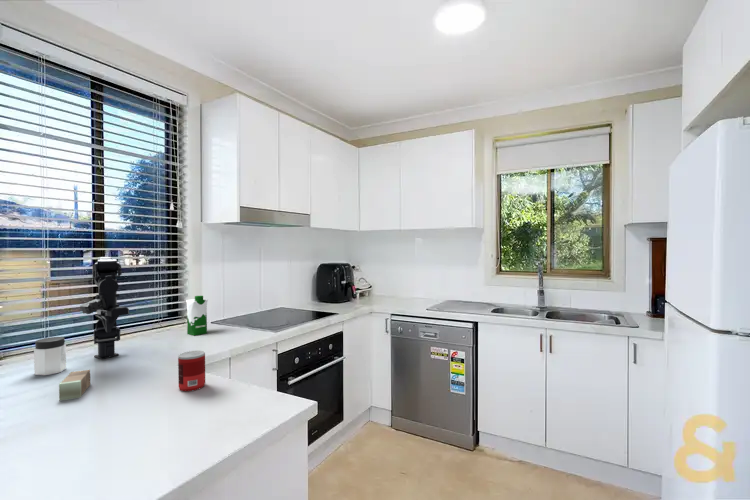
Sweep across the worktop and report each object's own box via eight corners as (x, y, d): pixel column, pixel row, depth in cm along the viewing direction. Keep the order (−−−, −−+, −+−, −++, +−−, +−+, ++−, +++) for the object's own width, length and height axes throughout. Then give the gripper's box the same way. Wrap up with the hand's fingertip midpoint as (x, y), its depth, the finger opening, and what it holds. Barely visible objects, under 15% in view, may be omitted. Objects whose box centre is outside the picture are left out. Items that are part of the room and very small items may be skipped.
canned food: (210, 384, 124) (210, 351, 124) (191, 393, 117) (191, 358, 117) (192, 381, 127) (192, 349, 127) (173, 390, 119) (172, 356, 119)
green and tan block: (71, 371, 122) (59, 384, 112) (90, 369, 125) (79, 381, 114) (71, 387, 123) (59, 400, 112) (90, 384, 125) (80, 397, 114)
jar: (58, 374, 135) (58, 341, 134) (30, 377, 132) (30, 343, 132) (69, 366, 143) (69, 335, 143) (43, 369, 140) (42, 337, 140)
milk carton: (193, 336, 190) (193, 297, 190) (184, 334, 195) (184, 296, 195) (209, 333, 197) (209, 295, 197) (200, 330, 202) (200, 294, 202)
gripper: (71, 292, 141) (71, 333, 142) (96, 295, 133) (97, 339, 133) (103, 289, 151) (104, 328, 151) (129, 292, 142) (130, 333, 142)
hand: (108, 332), depth 144 cm, fingers closed
